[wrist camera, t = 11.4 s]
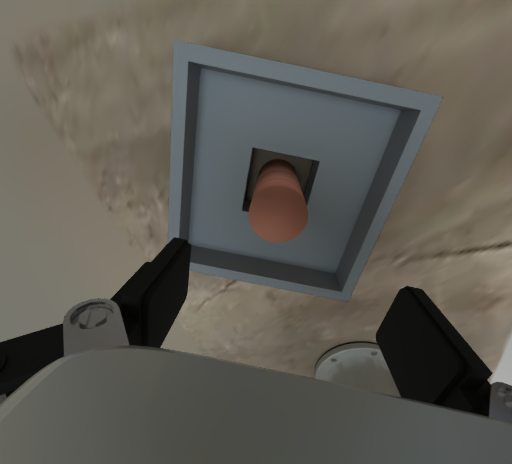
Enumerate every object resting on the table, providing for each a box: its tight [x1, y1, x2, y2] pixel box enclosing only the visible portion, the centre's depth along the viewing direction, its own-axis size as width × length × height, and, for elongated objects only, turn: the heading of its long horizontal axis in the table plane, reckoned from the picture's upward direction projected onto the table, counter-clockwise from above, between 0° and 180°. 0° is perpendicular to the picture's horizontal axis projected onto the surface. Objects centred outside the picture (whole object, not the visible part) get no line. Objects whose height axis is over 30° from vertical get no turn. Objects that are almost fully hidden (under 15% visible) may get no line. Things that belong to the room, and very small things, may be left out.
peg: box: [248, 159, 308, 243], centre depth 21 cm, size 4×4×10 cm
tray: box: [168, 40, 443, 302], centre depth 23 cm, size 18×18×6 cm
